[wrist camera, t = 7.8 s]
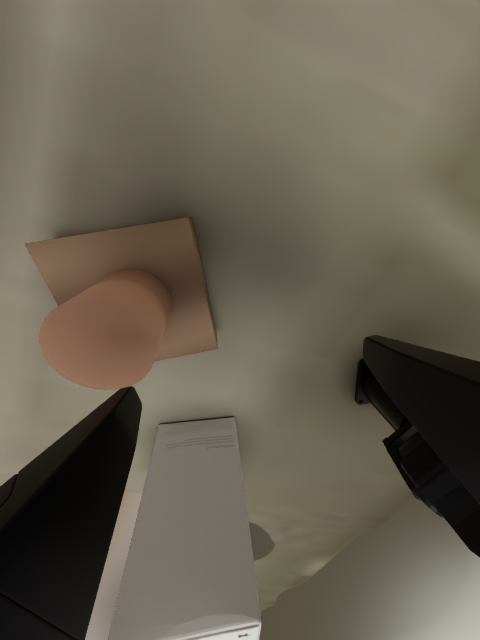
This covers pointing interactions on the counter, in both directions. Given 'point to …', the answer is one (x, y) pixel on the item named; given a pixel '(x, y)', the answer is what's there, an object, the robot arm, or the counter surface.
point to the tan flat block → (143, 254)
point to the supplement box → (190, 542)
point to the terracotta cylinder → (108, 330)
